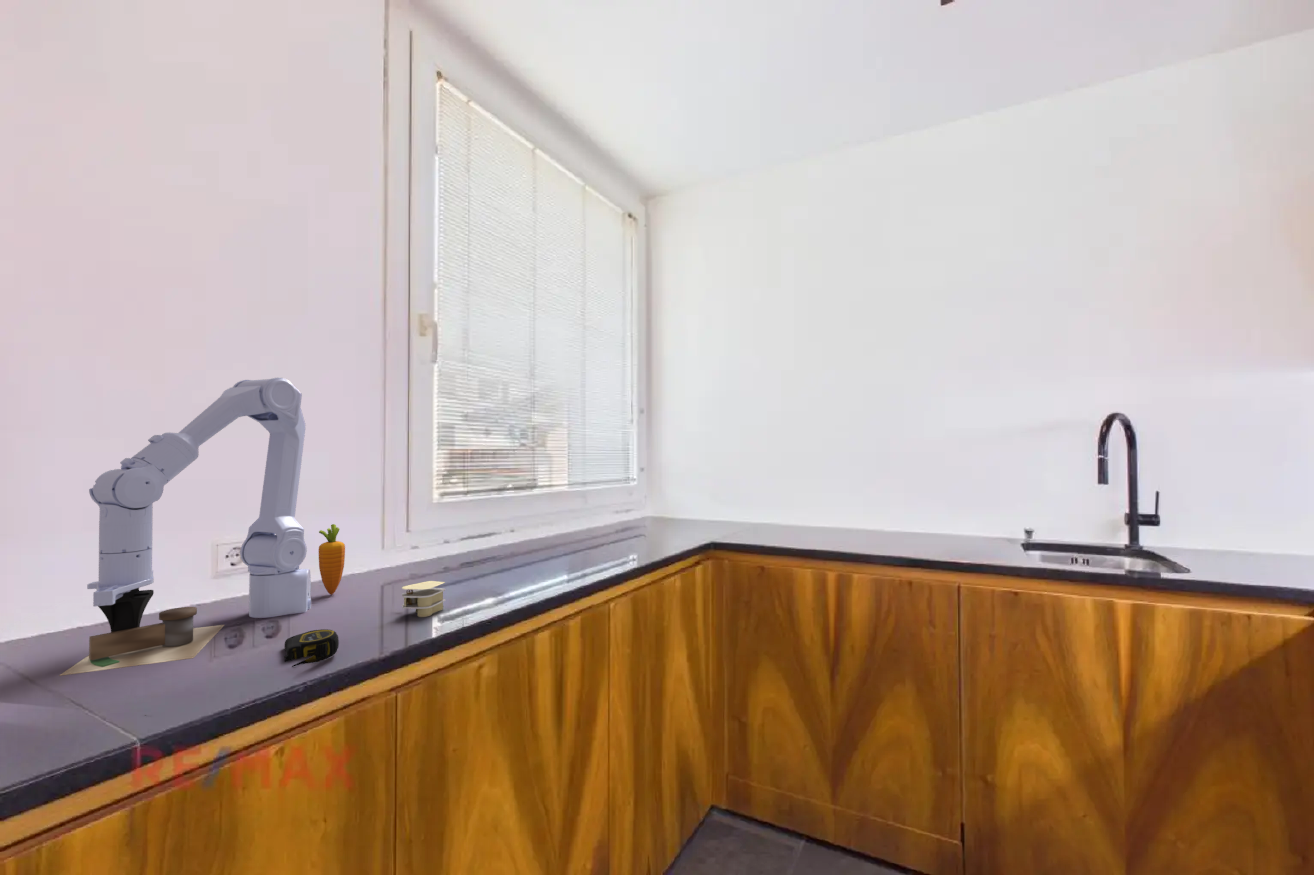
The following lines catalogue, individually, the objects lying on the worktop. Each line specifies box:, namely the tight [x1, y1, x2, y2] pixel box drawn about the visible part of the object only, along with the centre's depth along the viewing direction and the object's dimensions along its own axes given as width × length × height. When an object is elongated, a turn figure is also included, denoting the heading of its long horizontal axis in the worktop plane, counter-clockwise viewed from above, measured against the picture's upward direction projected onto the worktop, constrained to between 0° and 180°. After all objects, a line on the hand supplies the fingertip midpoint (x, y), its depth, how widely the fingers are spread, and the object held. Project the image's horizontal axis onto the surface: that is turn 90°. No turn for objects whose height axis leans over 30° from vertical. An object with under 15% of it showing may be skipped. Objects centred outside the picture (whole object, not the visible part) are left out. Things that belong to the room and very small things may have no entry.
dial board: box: [58, 624, 225, 677], centre depth 84 cm, size 14×17×2 cm
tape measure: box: [283, 628, 340, 668], centre depth 83 cm, size 7×7×4 cm
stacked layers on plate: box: [401, 580, 446, 618], centre depth 106 cm, size 10×9×6 cm
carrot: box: [318, 523, 346, 596], centre depth 120 cm, size 5×5×15 cm
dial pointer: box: [88, 606, 198, 660], centre depth 82 cm, size 12×4×5 cm, turn 143°
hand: (125, 643), depth 82 cm, fingers closed, pressing on dial pointer
